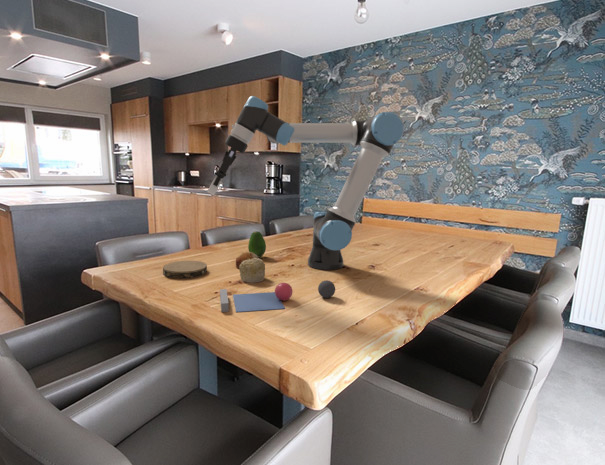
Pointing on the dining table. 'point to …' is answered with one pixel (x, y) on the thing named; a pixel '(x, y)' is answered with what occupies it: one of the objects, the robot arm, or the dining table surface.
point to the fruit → (257, 244)
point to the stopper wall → (224, 300)
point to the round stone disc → (184, 269)
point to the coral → (252, 270)
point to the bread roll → (244, 257)
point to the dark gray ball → (326, 289)
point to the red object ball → (283, 291)
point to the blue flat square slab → (257, 302)
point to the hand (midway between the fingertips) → (211, 191)
